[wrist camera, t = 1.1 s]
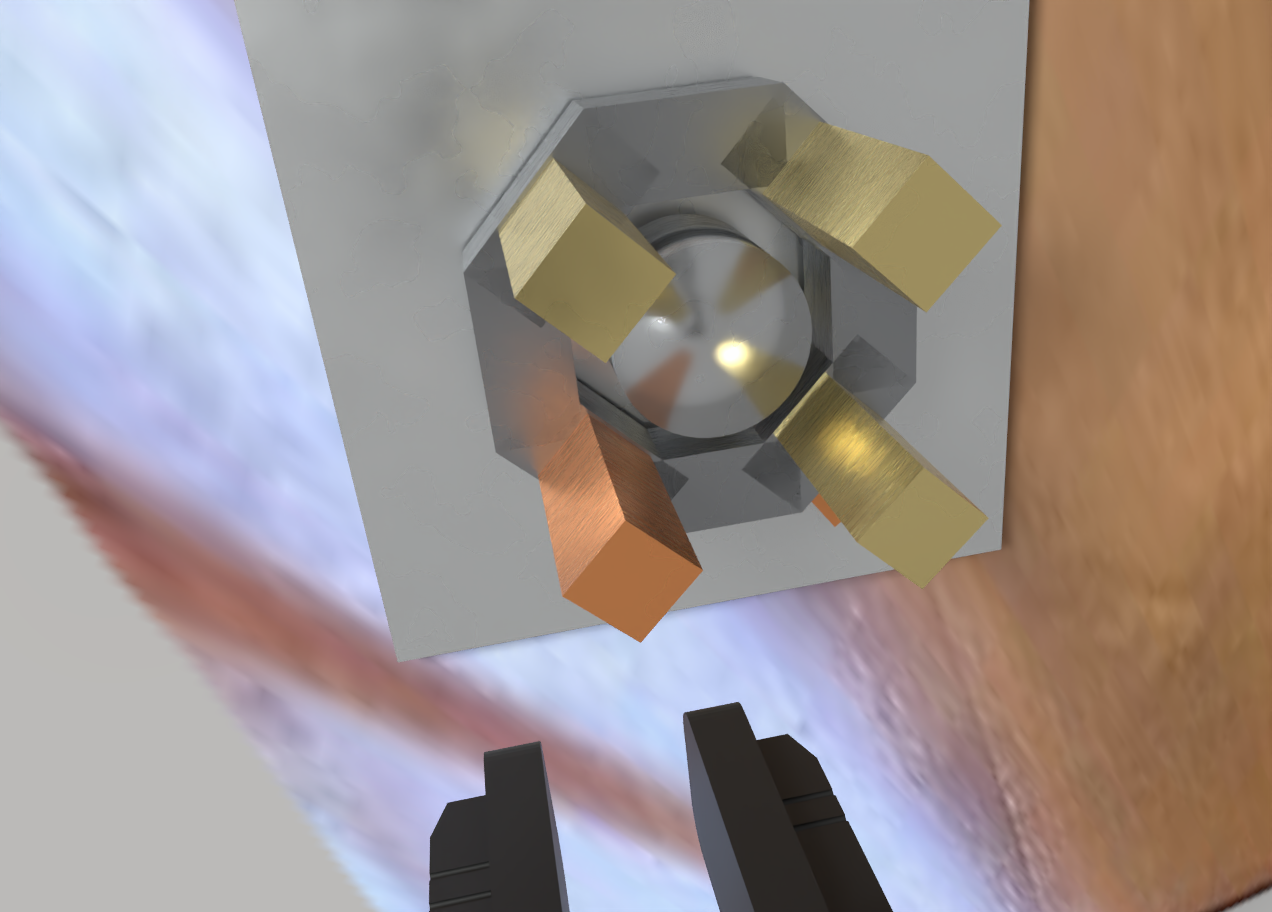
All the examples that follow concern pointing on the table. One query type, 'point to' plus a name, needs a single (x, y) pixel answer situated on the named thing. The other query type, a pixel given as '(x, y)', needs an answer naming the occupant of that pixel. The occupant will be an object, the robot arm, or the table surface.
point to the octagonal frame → (635, 277)
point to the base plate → (677, 229)
